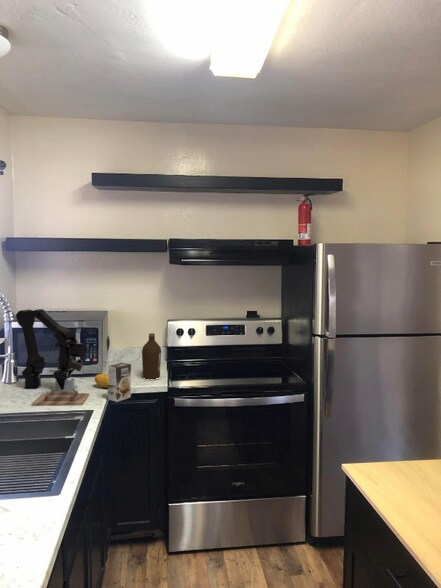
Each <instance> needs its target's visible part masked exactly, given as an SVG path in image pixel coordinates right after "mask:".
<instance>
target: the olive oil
mask: <svg viewBox="0 0 441 588" xmlns="http://www.w3.org/2000/svg"><path fill="white" fill-rule="evenodd" d="M141 357H142V363H141V364H142V379H143V378H145V379H156V378H159V377H160V378H161V364H162V363H161V361H162V359H161V358H162V348H161V346H160V344H159V343H158V342H157V341H156V336H155V333H153V332H151V333H148V340H147V341H146V343H145V344H144V345H143V346H142V350H141ZM160 378H159V379H160ZM145 379H144V380H145Z"/></svg>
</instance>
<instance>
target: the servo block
mask: <svg viewBox="0 0 441 588" xmlns="http://www.w3.org/2000/svg"><path fill="white" fill-rule="evenodd" d="M54 382H55V385H53V386H52V390H54V389H55V390H54V391H75V389H77V388H78V385H75V378H72V377H70V378H67V379H65V385H64V390H61V388H60V386H59V384H58V382H57V381H56V380H55V381H54Z"/></svg>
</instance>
